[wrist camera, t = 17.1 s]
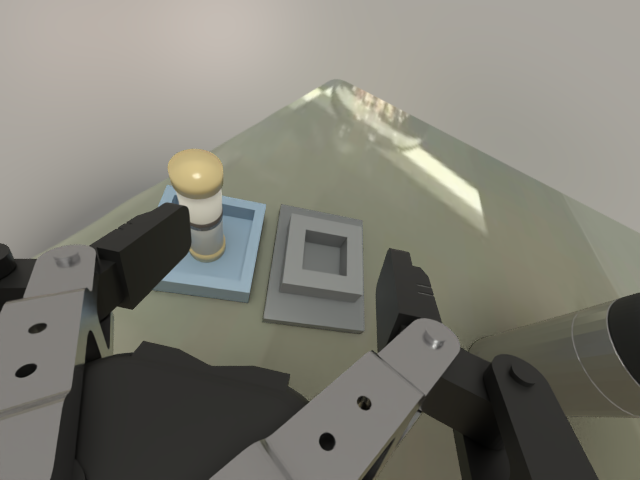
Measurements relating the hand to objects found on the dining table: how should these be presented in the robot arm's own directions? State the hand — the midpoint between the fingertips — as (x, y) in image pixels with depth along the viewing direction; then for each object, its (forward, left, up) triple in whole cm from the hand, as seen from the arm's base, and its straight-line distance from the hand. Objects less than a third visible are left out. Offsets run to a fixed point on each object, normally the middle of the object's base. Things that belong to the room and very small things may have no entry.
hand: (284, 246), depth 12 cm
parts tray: (+7, -11, -25) cm, 28 cm away
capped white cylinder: (+7, -11, -24) cm, 27 cm away
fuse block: (-7, -11, -25) cm, 28 cm away
